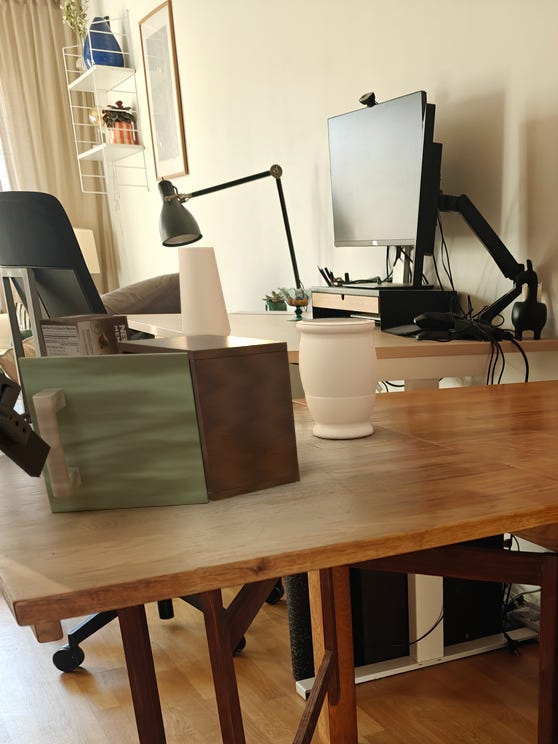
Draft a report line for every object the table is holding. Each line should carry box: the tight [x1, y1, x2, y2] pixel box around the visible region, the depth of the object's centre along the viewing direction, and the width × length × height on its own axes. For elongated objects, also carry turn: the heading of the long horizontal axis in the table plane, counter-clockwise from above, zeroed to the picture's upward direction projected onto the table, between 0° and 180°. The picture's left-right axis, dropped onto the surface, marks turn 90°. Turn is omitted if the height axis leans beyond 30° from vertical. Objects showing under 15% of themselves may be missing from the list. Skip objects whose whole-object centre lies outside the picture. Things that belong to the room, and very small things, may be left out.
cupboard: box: [117, 334, 301, 502], centre depth 93 cm, size 11×15×15 cm
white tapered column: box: [177, 246, 232, 336], centre depth 125 cm, size 7×7×24 cm
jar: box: [295, 317, 379, 440], centre depth 118 cm, size 11×10×15 cm
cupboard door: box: [17, 353, 209, 514], centre depth 81 cm, size 6×15×14 cm, turn 103°
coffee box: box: [38, 313, 132, 357], centre depth 112 cm, size 9×6×16 cm
